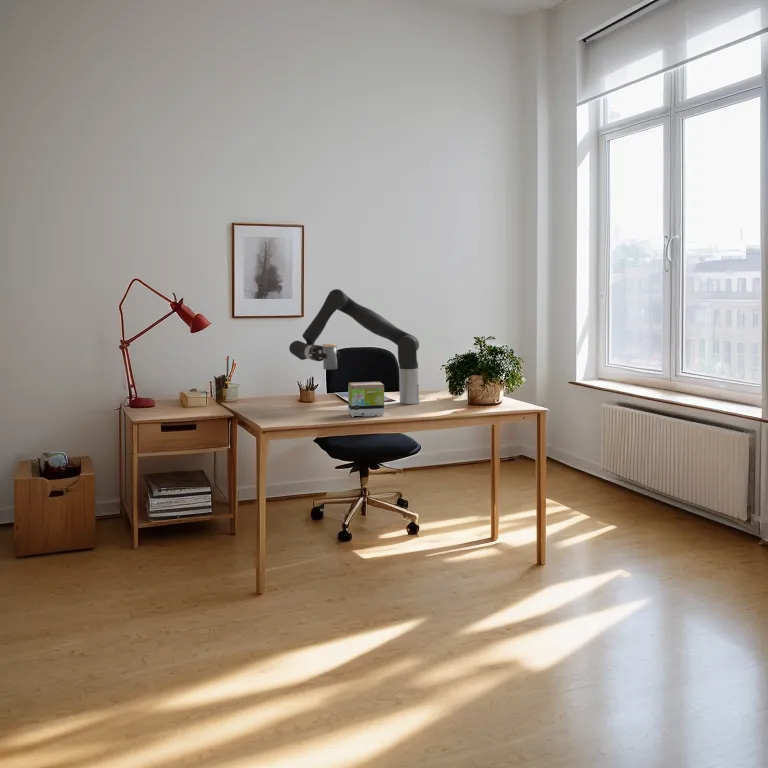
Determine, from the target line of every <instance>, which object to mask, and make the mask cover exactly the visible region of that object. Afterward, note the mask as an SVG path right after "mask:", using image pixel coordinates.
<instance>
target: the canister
mask: <svg viewBox="0 0 768 768" xmlns="http://www.w3.org/2000/svg"><path fill="white" fill-rule="evenodd" d="M337 345H338V344H337V343H322V344H321V346H322V347H323V353H325V354H326V358H323V360H322V365H323V366H322V367H323V370H330V371H331V370H337V369H338V357H337V351H338V347H337Z"/></svg>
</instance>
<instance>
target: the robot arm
mask: <svg viewBox="0 0 768 768" xmlns="http://www.w3.org/2000/svg"><path fill="white" fill-rule="evenodd" d="M337 310H338V311H340V312H342V313H343V314H346V315H348V316H349V317H351V318H352V319H353V320H354V321H355V322H356V323H358V324H359V325H360V326H361V327H363V328H364V329H366V330H367V331H369V332H371V333H372V334H374V335H376V336H378V337H381V338H383V339H386V340H388V341H390V342H392V343H393V344H395V345H396V346H397V360H398V361H397V362H398V366H399V369H398V371H399V372H398V373H399V382H398V383H399V404H401V405H416V404H420V389H419V388H420V385H419V362H418V357H417V356H418V355H417V354H418V353H417V351H418V350H419V347H420V341H419V340H418V338H417V336H416V337H415V335H412V334H411V333H408V332H406V331H404V330H402V329H400V328H399V327H397V326H396V325H395V324H393V323H392V322H390V321H389V320H387V319H386V318H384V317H383V316H382V315H380V314H379V313H378V312H375V311H374V310H373V309H369V308H368V307H365V306H363V305H361V304H359V303H357V302H356V301H354V300H353V299H352V298H351V297H350V296H348V295H347V293H345V292H344V291H343V290H341V289H339V288H336V289H335V288H334V289H332V290H330V291H329V292H328V294H327V296H326V298H325V301H324V302H323V304H322V306H321V308H320V310H319V311H318V312H317V314H316V316H315V317H314V318H313V320H312V321H311V323H310V324H309V325H308V326H307V328H306V329H305V331H304V332H303V333H302V338H303V339H304V340H305V342H303V341H301V340H295V341H292V343H290V344H289V348H288V350H289V352H290V354H292V355H293V356H295V357H296V358H297V359H299V360H301V361H305V360H311V361H315V362H323V358H326V354H325V353H323V347H322V345H320V344H315V343H316V341H317V340H318V339H319V337H320V335H321V334H322V333H323V331H324V329H325V328H326V325H327V323H328V321H330V318H331V317H332V316H333V314H334V313H335V312H336V311H337ZM340 357H341V352H340V351H339V350H337V358H340Z"/></svg>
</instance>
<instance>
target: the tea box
mask: <svg viewBox="0 0 768 768" xmlns="http://www.w3.org/2000/svg"><path fill="white" fill-rule="evenodd" d="M347 384H348V385H347V388H348V389H347V390H348V391H347V396H348V398H347V399H348V400H347V401H348V405H347V406H348V412H347V413H348V415H349V414H350V415H351V416H352V417H351V416H350V415H349V416H350V417H351V418H355V417H354V416H363V417H376V416H375V415H384V416H385V384H383V383H382V382H381V381H363V382H362V381H361V382H359V381H358V382H348V383H347Z"/></svg>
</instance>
